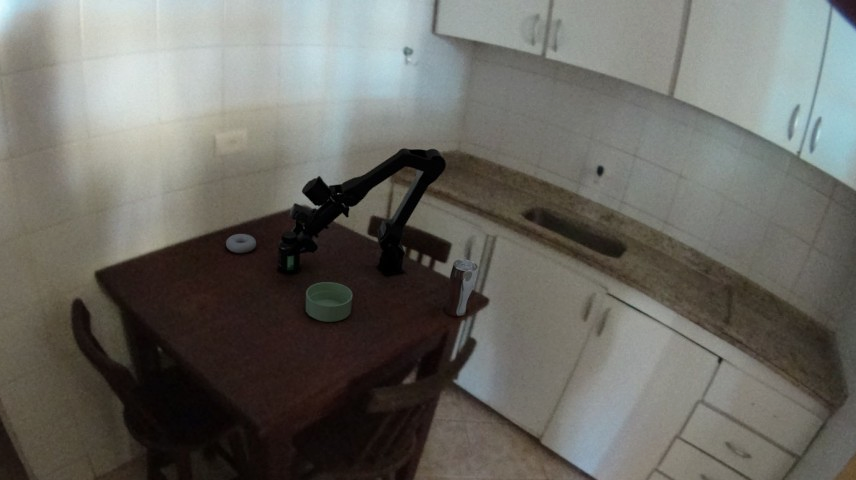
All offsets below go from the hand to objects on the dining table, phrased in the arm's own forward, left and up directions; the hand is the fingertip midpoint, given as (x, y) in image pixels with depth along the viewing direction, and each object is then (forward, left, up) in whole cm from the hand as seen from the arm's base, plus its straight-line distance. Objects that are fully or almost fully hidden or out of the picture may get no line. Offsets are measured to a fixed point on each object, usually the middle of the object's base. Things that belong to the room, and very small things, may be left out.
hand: (287, 248), depth 188 cm
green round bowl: (-2, +26, -7) cm, 27 cm away
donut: (+8, -19, -7) cm, 22 cm away
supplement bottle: (-1, 0, -7) cm, 8 cm away
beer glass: (-36, +40, -7) cm, 54 cm away
